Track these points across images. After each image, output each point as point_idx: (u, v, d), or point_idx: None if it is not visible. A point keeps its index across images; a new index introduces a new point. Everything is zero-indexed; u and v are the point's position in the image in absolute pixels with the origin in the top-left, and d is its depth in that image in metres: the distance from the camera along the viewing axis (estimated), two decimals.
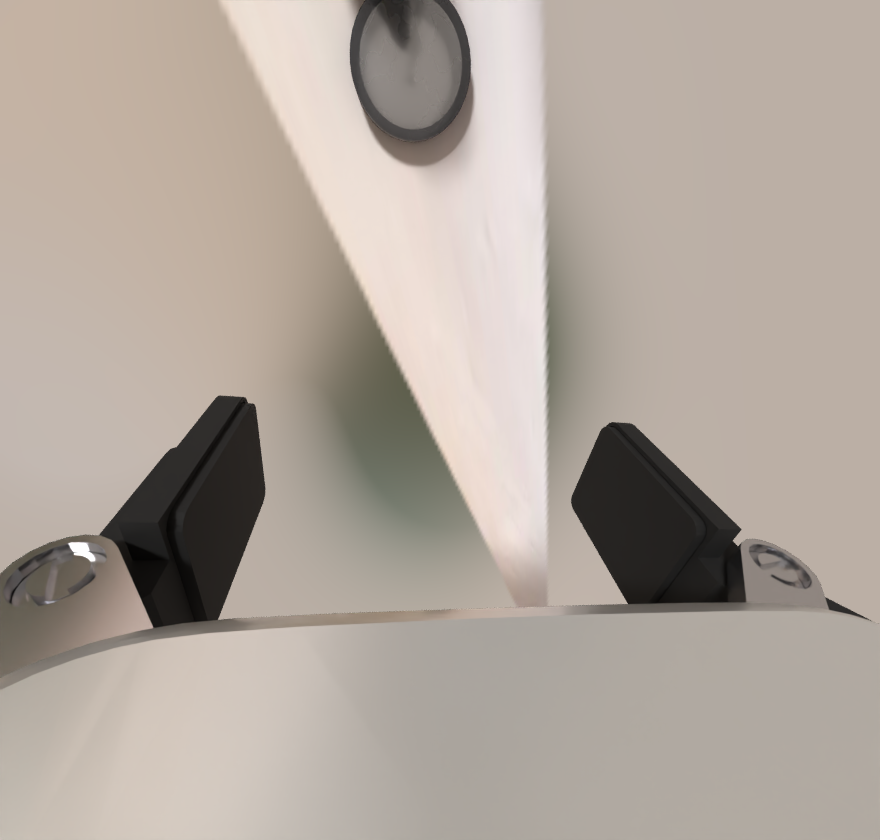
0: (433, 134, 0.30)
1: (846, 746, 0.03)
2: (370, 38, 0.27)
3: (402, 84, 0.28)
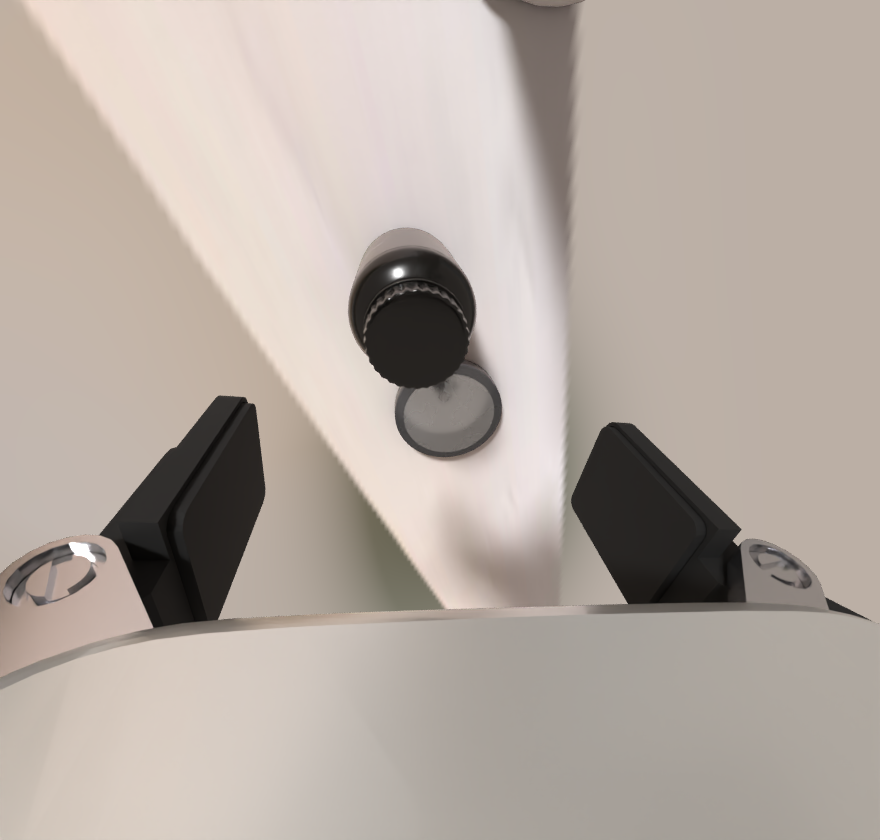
0: (466, 451, 0.34)
1: (846, 746, 0.03)
2: (414, 403, 0.30)
3: (440, 427, 0.32)
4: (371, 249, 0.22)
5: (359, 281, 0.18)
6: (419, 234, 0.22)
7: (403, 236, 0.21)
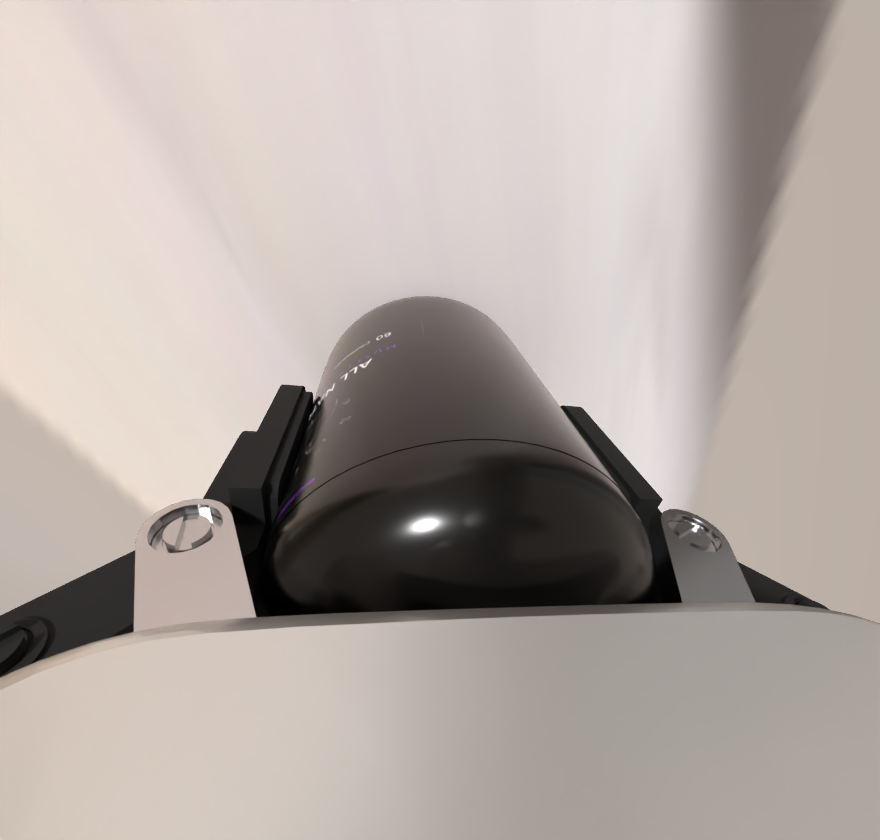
0: None
1: (846, 746, 0.03)
2: None
3: None
4: (341, 372, 0.08)
5: (277, 575, 0.05)
6: (462, 329, 0.09)
7: (425, 349, 0.08)
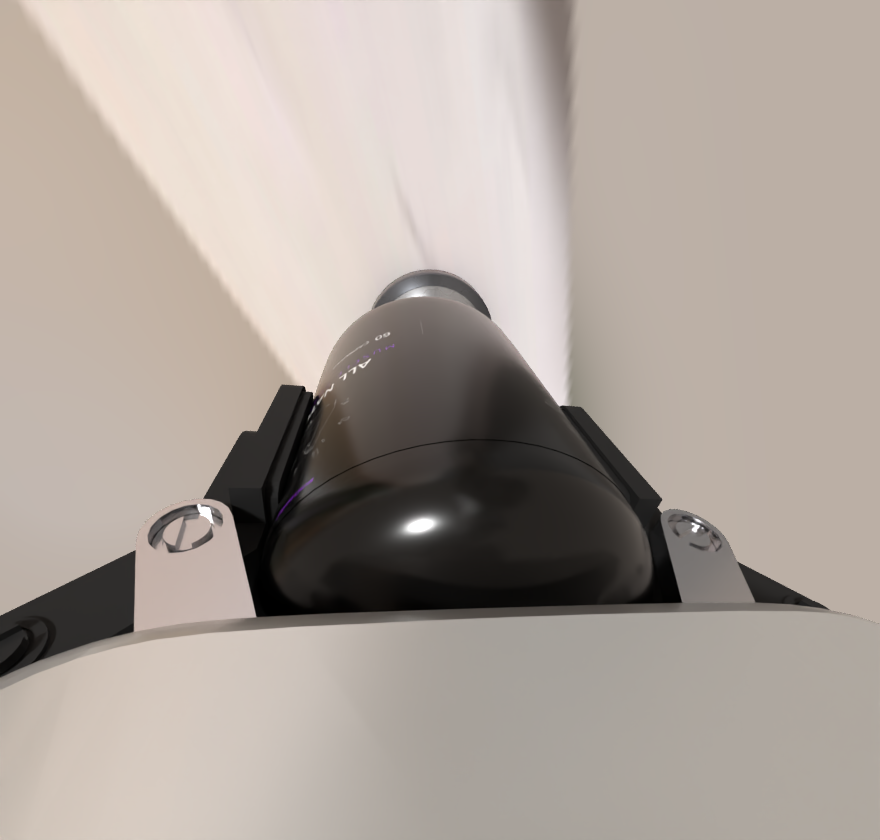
0: None
1: (846, 746, 0.03)
2: None
3: None
4: (339, 372, 0.08)
5: (275, 576, 0.05)
6: (461, 330, 0.09)
7: (424, 349, 0.08)
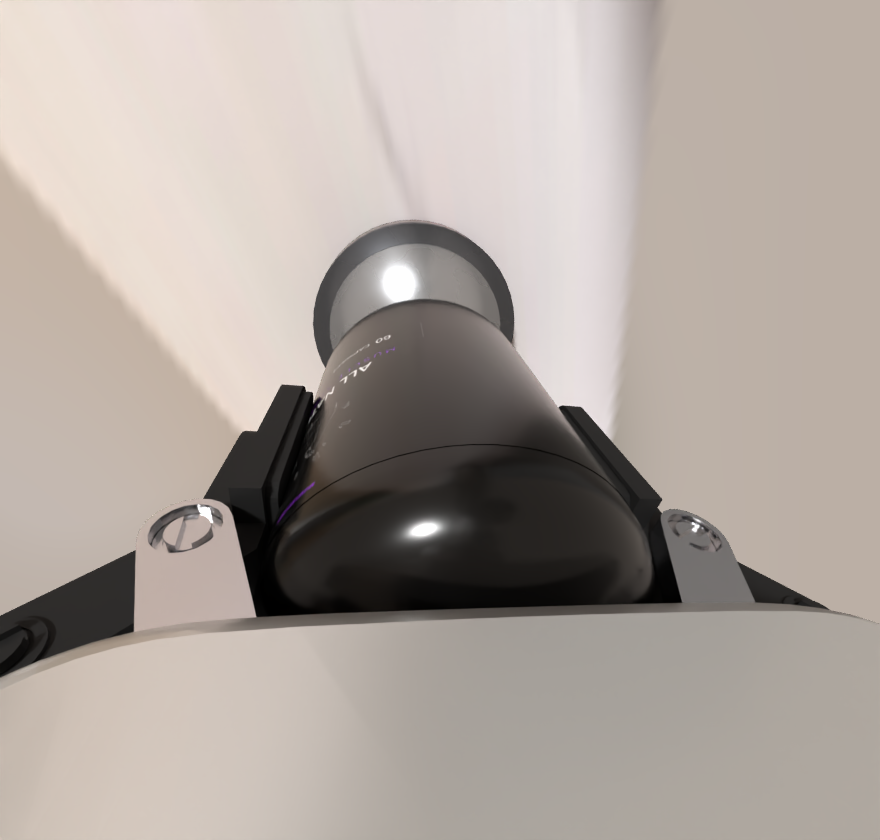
0: None
1: (846, 746, 0.03)
2: (347, 308, 0.16)
3: None
4: (340, 375, 0.08)
5: (276, 581, 0.05)
6: (461, 332, 0.09)
7: (425, 353, 0.08)
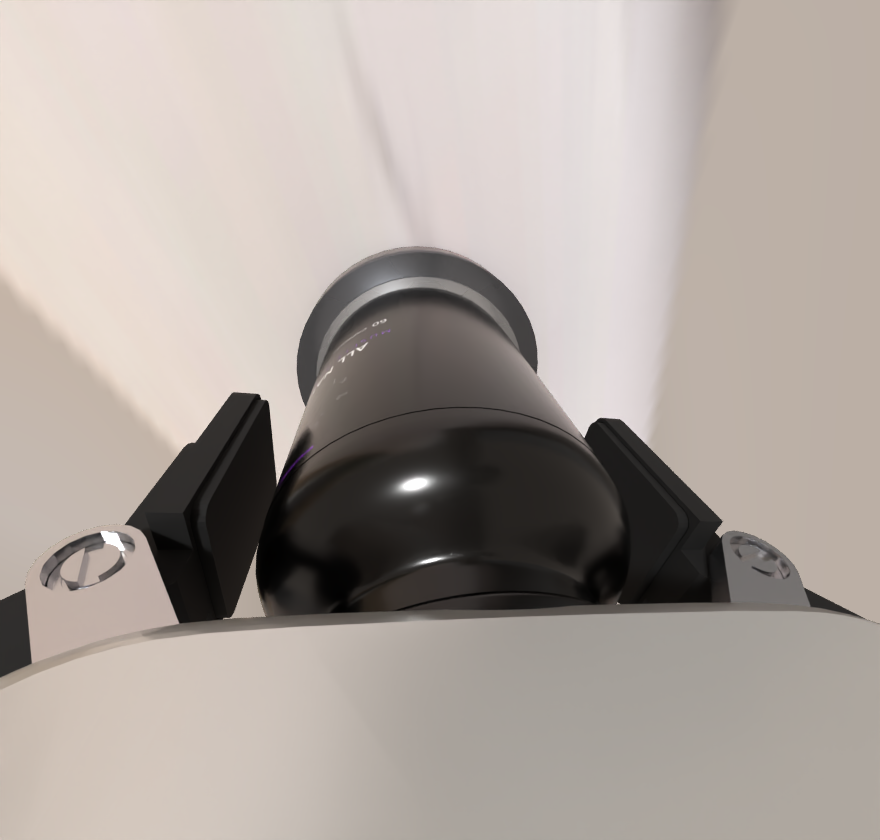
0: None
1: (846, 746, 0.03)
2: None
3: None
4: (338, 356, 0.09)
5: (278, 531, 0.05)
6: (454, 316, 0.09)
7: (418, 333, 0.08)
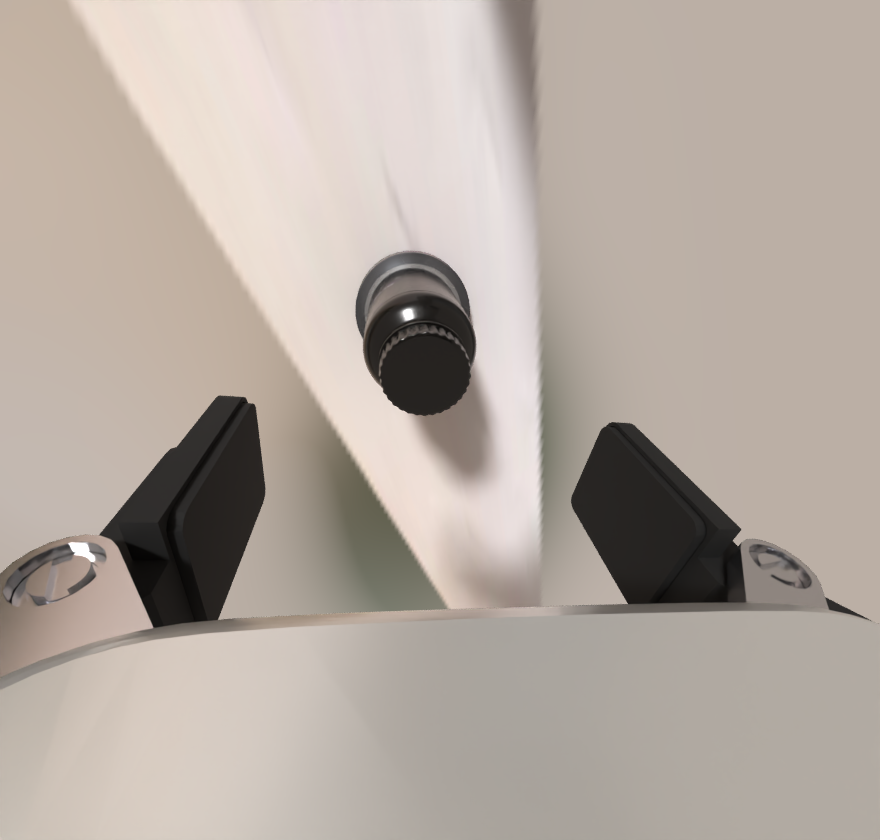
0: None
1: (846, 746, 0.03)
2: None
3: None
4: (382, 289, 0.24)
5: (374, 320, 0.21)
6: (425, 276, 0.25)
7: (411, 278, 0.24)
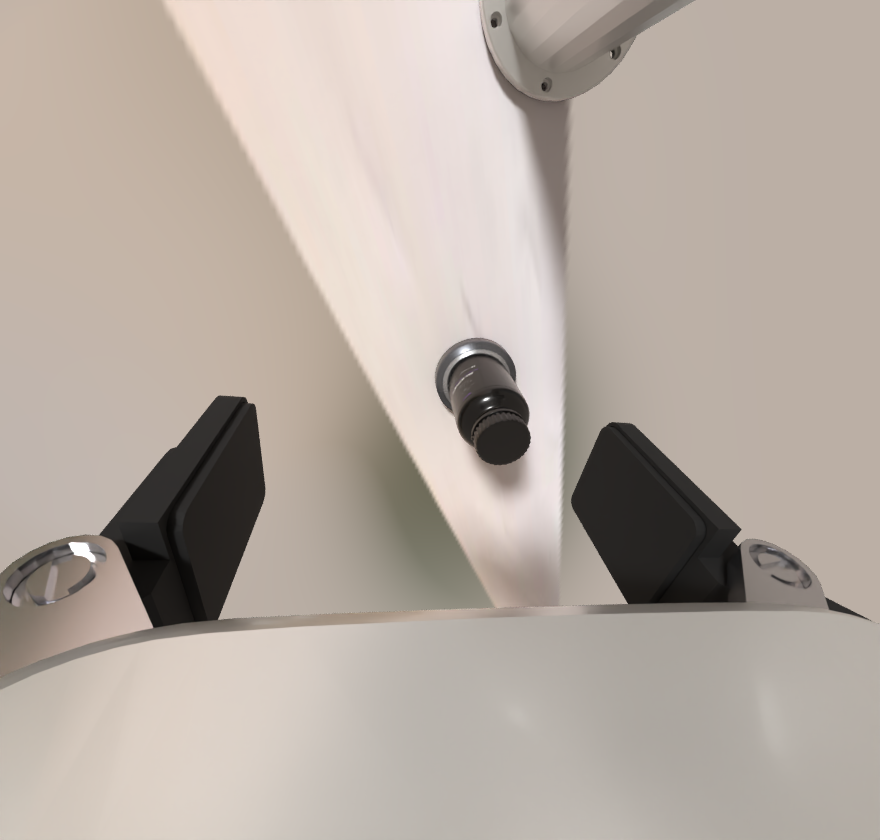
0: None
1: (846, 746, 0.03)
2: None
3: None
4: (464, 375, 0.37)
5: (467, 405, 0.33)
6: (491, 364, 0.37)
7: (485, 370, 0.36)
